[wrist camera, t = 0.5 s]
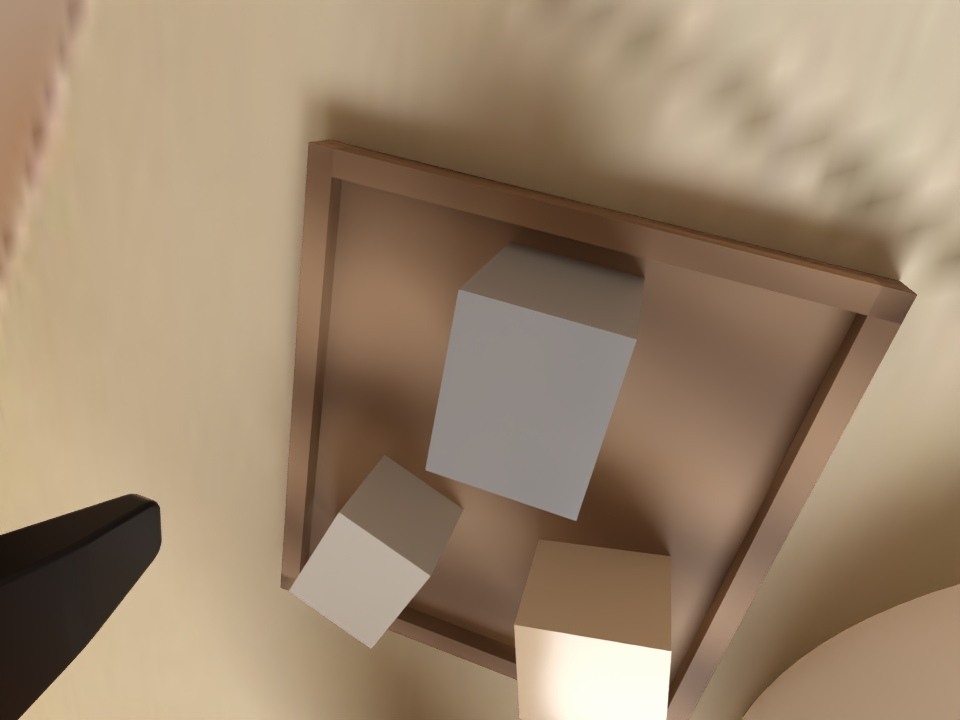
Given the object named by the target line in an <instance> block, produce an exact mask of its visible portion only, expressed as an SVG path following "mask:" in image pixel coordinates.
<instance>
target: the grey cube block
mask: <svg viewBox="0 0 960 720" xmlns="http://www.w3.org/2000/svg"><path fill="white" fill-rule="evenodd" d="M644 280H645V277H641V276H637V275H633V274H630V273H626V272H622V271H618V270H614V269H611V268H607V267H603V266H599V265H596V264H592V263H588V262H584V261H580V260H577V259H573V258H569V257H565V256H562V255H558V254H554V253H550V252H546V251H543V250H539V249H535V248H531V247H527V246H524V245H520V244H516V243H512V242H510V243H508V244H507V245H506V246H505V247H504V248H503V249H502V250H501V251H500V252H499V253H498V254H496V255H495V256H494V257H493V258H492V259H491V260H490V261H489V262H488V263H487V264H486V265H485V266H483V267H482V268H481V269H480V270H479V271H478V272H477V273H476V274H475V275H474V276H473V277H471V278H470V279H469V280H468V281H467V282H466V283H465V284H464V285H463V286H462V287H461V288H460V289H459V290H458V296H457V301H456V307H455V312H454V317H453V323H452V328H451V334H450V339H449V344H448V350H447V355H446V361H445V366H444V372H443V377H442V382H441V388H440V393H439V399H438V404H437V409H436V415H435V420H434V426H433V431H432V436H431V442H430V447H429V453H428V458H427V463H426V469H425V470H426V471H429V472H432V473H435V474H438V475H441V476H444V477H447V478H450V479H453V480H456V481H459V482H462V483H465V484H468V485H471V486H474V487H477V488H480V489H483V490H486V491H488V492H491V493H494V494H497V495H500V496H503V497H506V498H509V499H512V500H515V501H518V502H521V503H524V504H527V505H530V506H533V507H536V508H539V509H542V510H545V511H548V512H551V513H553V514H556V515H559V516H562V517H565V518H568V519H571V520H574V521H576V520H577V517H578V514H579V511H580V508H581V505H582V502H583V499H584V496H585V493H586V490H587V487H588V484H589V481H590V478H591V475H592V472H593V469H594V466H595V463H596V460H597V457H598V454H599V451H600V448H601V445H602V442H603V439H604V436H605V433H606V430H607V427H608V424H609V421H610V418H611V415H612V412H613V409H614V406H615V403H616V400H617V397H618V394H619V391H620V388H621V385H622V382H623V380H624V377H625V374H626V371H627V368H628V365H629V362H630V359H631V356H632V353H633V350H634V347H635V344H636V341H637V335H638V327H639V319H640V311H641V303H642V296H643V288H644Z"/></svg>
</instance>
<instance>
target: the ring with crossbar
mask: <svg viewBox="0 0 960 720" xmlns="http://www.w3.org/2000/svg"><path fill="white" fill-rule="evenodd" d="M741 720H960V584H958V585H955V586H951V587H948V588H945V589H942V590H938V591H935V592H932V593H929V594H927V595H924V596H921V597H918V598H916V599H913V600H910V601H907V602H905V603H902V604H900V605H897V606H895V607H893V608H890V609H888V610H886V611H883V612H881V613H879V614H876V615H874V616H872V617H870V618H868V619H866V620H864V621H862V622H860V623H858V624H856V625H854V626H852V627H850V628H848V629H846V630H844V631H843V632H841V633H839V634H838V635H836V636H834V637H832V638H831V639H829V640H827V641H826V642H824V643H822V644H821V645H819V646H818V647H816V648H815V649H813V650H812V651H811V652H809V653H808V654H806V655H805V656H803V657H802V658H800V659H799V660H798V661H797V662H796V663H794V664H793V665H792V666H791V667H789V668H788V669H787V670H786V671H784V672H783V673H782V674H781V675H780V676H779V677H778V678H777V679H776V680H775V681H774V682H772V683H771V684H770V685H769V686H768V687H767V688H766V689H765V690H764V692H763V693H762V694H761V695H760V696H759V697H758V698H757V699H756V701H755V702H754V703H753V704H752V705H751V707H750V708H749V710H748V711H747V712H746V714H745V715H744V716H743V718H742V719H741Z"/></svg>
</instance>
